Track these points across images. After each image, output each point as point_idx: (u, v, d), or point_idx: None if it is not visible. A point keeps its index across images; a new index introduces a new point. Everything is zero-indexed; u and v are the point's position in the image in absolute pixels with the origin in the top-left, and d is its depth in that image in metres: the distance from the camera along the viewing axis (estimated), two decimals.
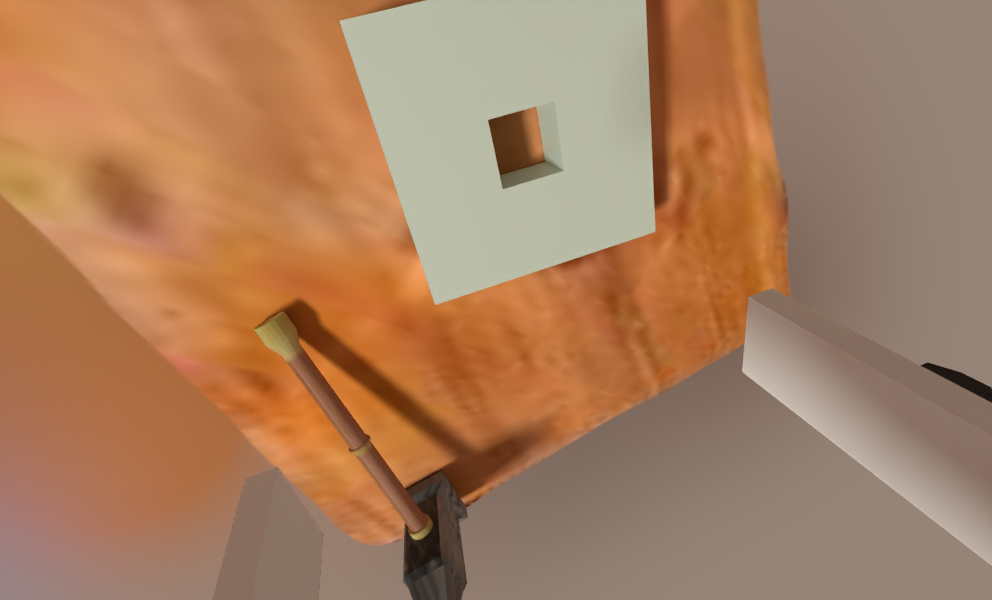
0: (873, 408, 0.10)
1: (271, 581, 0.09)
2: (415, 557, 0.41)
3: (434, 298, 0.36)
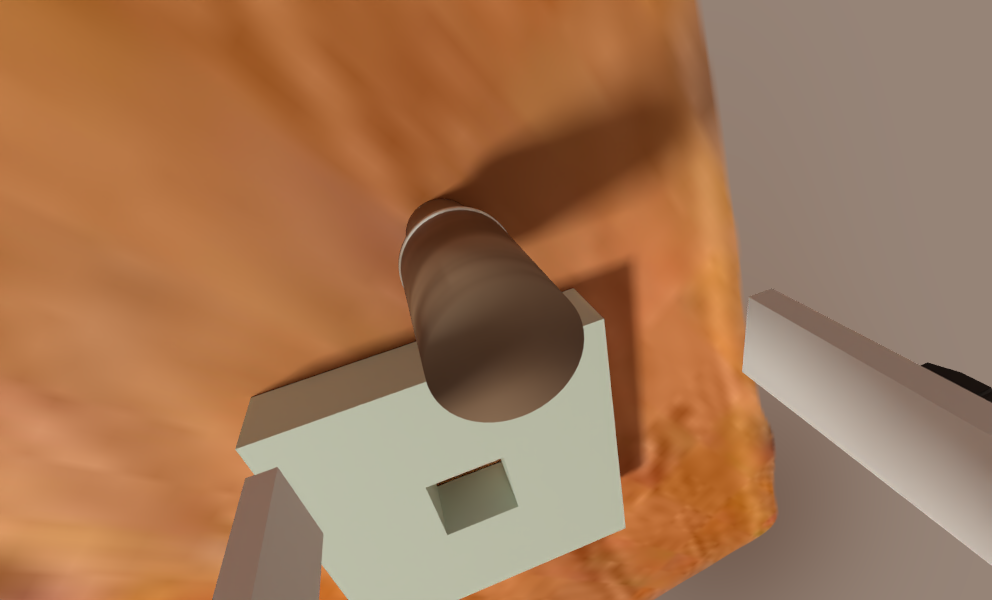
0: (873, 408, 0.10)
1: (271, 581, 0.09)
2: None
3: None
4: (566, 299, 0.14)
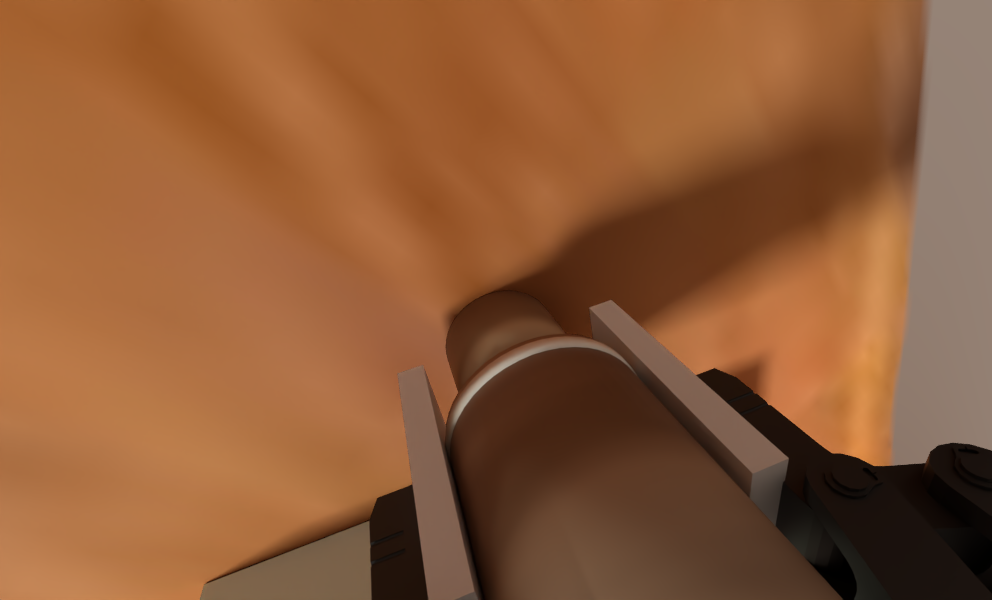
0: None
1: (442, 438, 0.11)
2: None
3: None
4: None
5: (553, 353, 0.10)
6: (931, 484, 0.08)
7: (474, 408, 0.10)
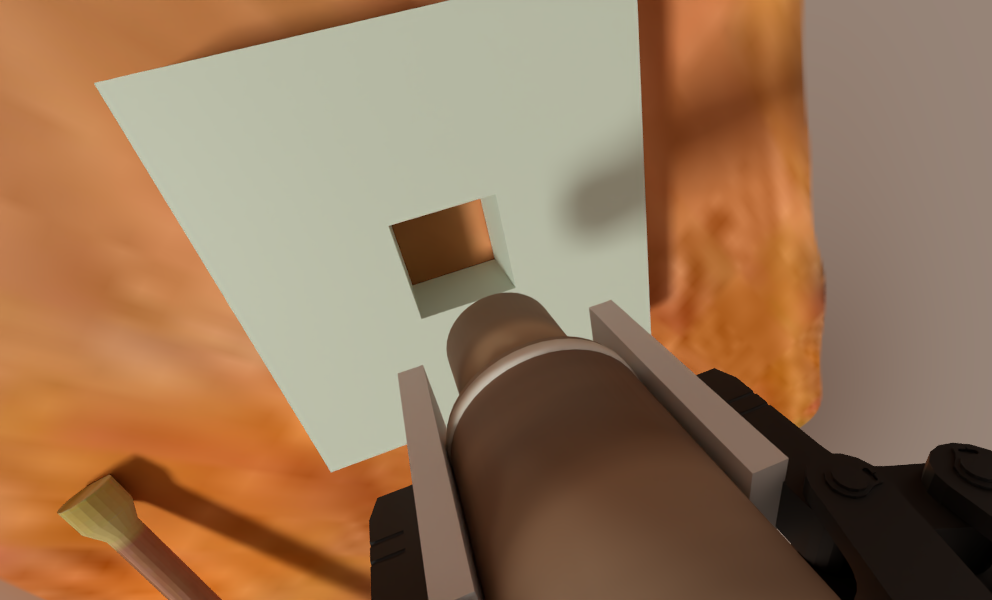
0: None
1: (442, 438, 0.11)
2: None
3: (328, 464, 0.25)
4: None
5: (554, 355, 0.10)
6: (929, 483, 0.08)
7: (475, 410, 0.10)
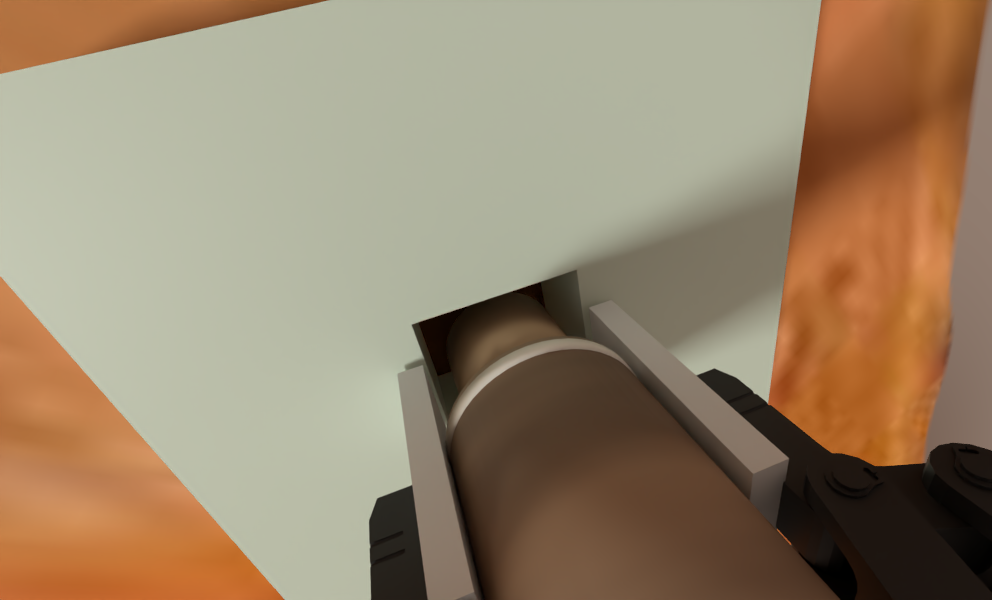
0: None
1: (442, 439, 0.11)
2: None
3: None
4: None
5: (553, 355, 0.10)
6: (931, 484, 0.08)
7: (475, 410, 0.10)
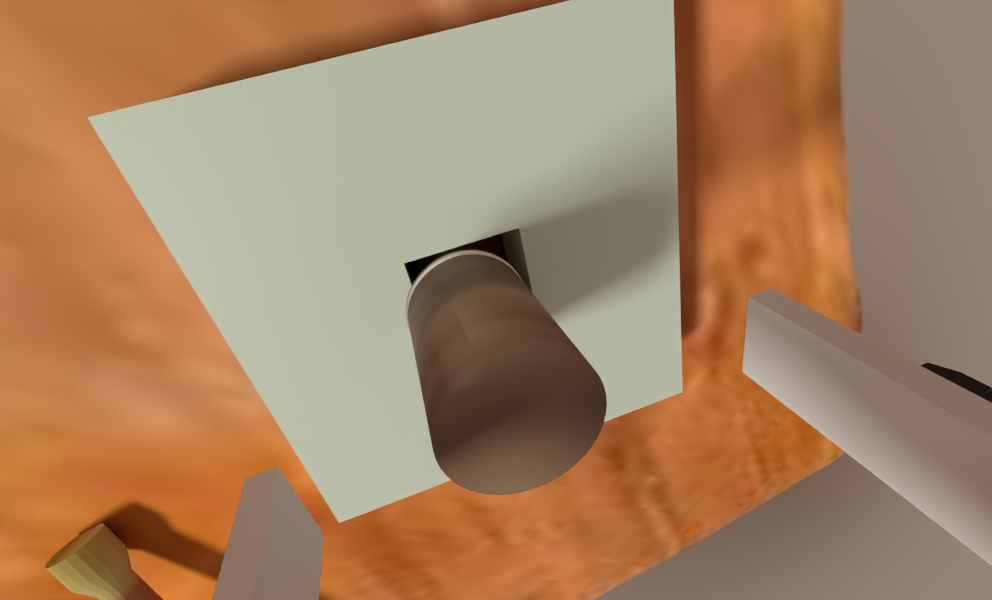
0: (873, 408, 0.10)
1: (271, 581, 0.09)
2: None
3: (336, 515, 0.23)
4: (587, 364, 0.12)
5: (463, 256, 0.18)
6: None
7: (418, 286, 0.18)
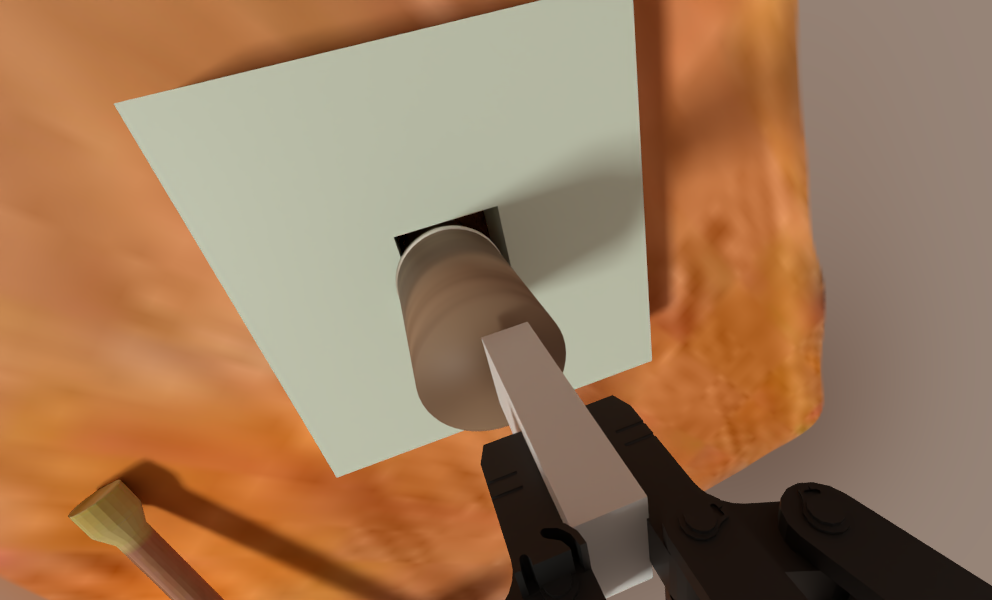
0: None
1: None
2: None
3: (334, 470, 0.25)
4: (547, 315, 0.15)
5: (446, 230, 0.20)
6: (786, 533, 0.07)
7: (407, 257, 0.20)
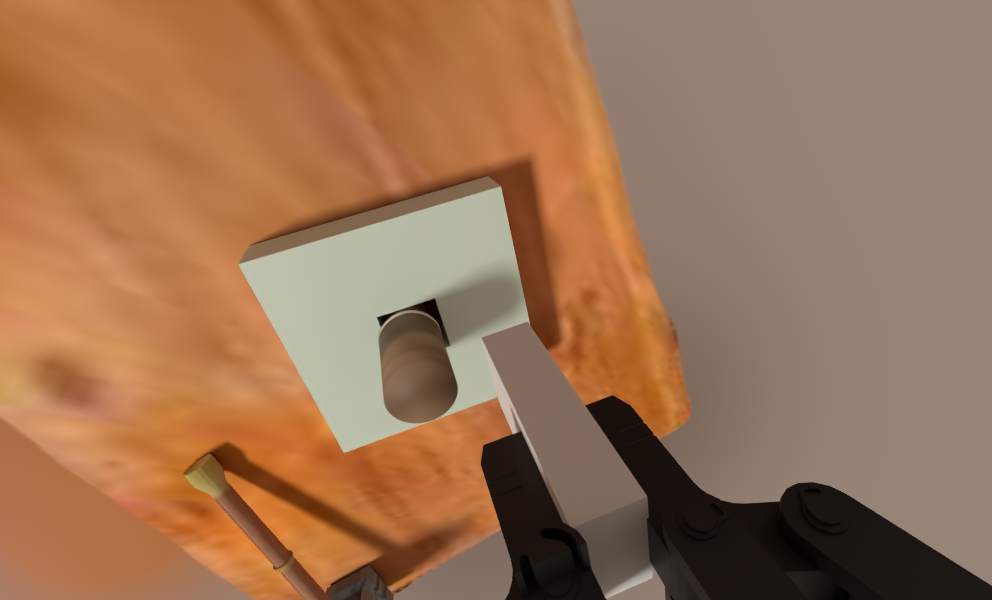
0: None
1: None
2: None
3: (342, 448, 0.42)
4: (445, 369, 0.31)
5: (405, 314, 0.36)
6: (786, 532, 0.07)
7: (383, 329, 0.36)
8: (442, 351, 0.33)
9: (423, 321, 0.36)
